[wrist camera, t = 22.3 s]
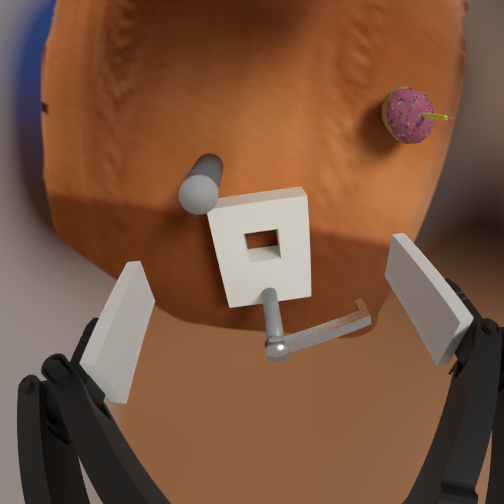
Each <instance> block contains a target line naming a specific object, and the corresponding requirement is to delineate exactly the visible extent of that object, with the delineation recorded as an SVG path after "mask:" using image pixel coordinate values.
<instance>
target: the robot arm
mask: <svg viewBox="0 0 504 504" xmlns="http://www.w3.org/2000/svg"><path fill="white" fill-rule="evenodd" d="M385 278H386V279H387V281H388V283H389V284H390V286H391V287H392V289H393V290H394V292H395V294H396V295H397V297H398V299H399V300H400V302H401V304H402V305H403V307H404V309H405V310H406V312H407V314H408V315H409V317H410V319H411V321H412V322H413V324H414V326H415V328H416V329H417V331H418V333H419V335H420V337H421V338H422V340H423V342H424V344H425V346H426V348H427V350H428V351H429V353H430V355H431V357H432V359H433V361H434V363H435V365H436V367H437V366H440V365H443V364H446V363H448V362H450V360H451V358H452V356H453V355H454V354H455V355H456V357H457V358H458V359H457V361H456V362H455V364H454V365H453V367H452V369H451V370H450V372H449V374H450V375H451V373H452V372H453V375H452V379H451V384H450V388H449V391H448V395H447V399H446V402H445V406H444V409H443V412H442V416H441V419H440V422H439V425H438V428H437V430H436V433H435V436H434V439H433V441H432V444H431V447H430V449H429V452H428V454H427V457H426V459H425V461H424V464H423V466H422V468H421V470H420V473H419V475H418V477H417V479H416V481H415V483H414V485H413V487H412V489H411V491H410V493H409V495H408V497H407V498H406V500H405V501H404V502H403V503H402V504H477V503H478V495H477V494H476V492H475V486H476V484H477V480H478V478H479V475H480V472H481V468H482V465H483V462H484V458H485V455H486V451H487V447H488V443H489V439H490V435H491V430H492V449H491V464H490V474H489V482H488V489H487V496H486V502H485V504H504V327H499V325H498V324H497V323H496V322H495V321H493V320H491V319H487V318H484V319H483V318H482V317H481V315H480V314H479V313H478V311H477V310H476V309H475V307H474V306H473V304H472V303H471V302H470V301H469V299H467V297H466V295H465V294H464V293H462V290H461V289H460V288H459V287H458V286H457V284H455V283H454V282H452V281H451V280H450V279H444V278H443V277H442V276H441V275H440V273H439V272H438V271H437V270H436V269H435V267H434V266H433V265H432V264H431V263H430V262H429V260H428V259H427V258H426V257H425V256H424V255H423V253H421V251H420V250H419V249H418V248H417V247H416V246H415V245H414V243H413V242H412V241H411V240H410V239H409V238H408V237H407V236H406V235H405V234H404V233H399V234H392V238H391V244H390V250H389V255H388V261H387V266H386V271H385ZM154 303H155V300H154V297H153V294H152V292H151V289H150V287H149V284H148V281H147V279H146V276H145V273H144V270H143V267H142V265H141V262H140V261H133V262H127V264H126V266H125V267H124V269H123V271H122V273H121V275H120V277H119V279H118V281H117V283H116V285H115V287H114V289H113V290H112V292H111V294H110V296H109V299H108V301H107V303H106V305H105V307H104V309H103V311H102V313H101V315H100V317H99V318H93V319H92V320H91V321H90V322H89V324H88V325H87V326H86V328H85V330H84V332H83V336H81V338H80V341H79V343H78V345H77V347H76V350H75V352H74V354H73V356H72V359H71V361H70V362H69V361H68V360H67V358H66V357H65V356H64V355H63V354H54V355H51V356H50V357H48V358H47V359H46V360H45V362H44V363H43V365H42V369H41V373H42V375H43V376H44V377H45V378H46V379H47V380H46V381H40V380H39V379H38V378H37V376H35V375H28V376H26V377H25V378H24V379H23V380H22V381H21V382H20V384H19V388H18V401H17V435H18V437H17V438H18V455H19V466H20V475H21V482H22V489H23V494H24V500H25V504H90V502H89V498H88V495H87V492H86V488H85V484H84V480H83V476H82V472H81V468H80V463H79V459H80V461H81V463H82V465H83V467H84V469H85V471H86V473H87V475H88V477H89V479H90V481H91V482H92V485H93V487H94V488H95V490H96V492H97V494H98V496H99V497H100V499H101V501H102V502H103V504H171V503H170V502H169V501H168V499H167V498H166V497H165V496H164V494H163V493H162V492H161V491H160V489H159V488H158V487H157V485H156V484H155V483H154V482H153V480H152V479H151V477H150V476H149V475H148V473H147V472H146V470H145V469H144V467H143V466H142V465H141V463H140V462H139V460H138V458H137V457H136V455H135V454H134V452H133V451H132V449H131V448H130V446H129V444H128V443H127V441H126V440H125V438H124V436H123V434H122V433H121V431H120V430H119V428H118V426H117V424H116V422H115V420H114V419H113V417H112V415H111V413H110V411H109V409H108V407H107V406H106V404H105V403H104V402H103V401H104V397H105V395H106V396H107V397H108V399H109V400H110V401H111V402H118V403H127V399H128V395H129V391H130V387H131V383H132V379H133V375H134V371H135V368H136V364H137V360H138V356H139V353H140V350H141V346H142V343H143V339H144V336H145V332H146V329H147V325H148V322H149V319H150V316H151V313H152V310H153V306H154ZM78 456H79V458H78Z"/></svg>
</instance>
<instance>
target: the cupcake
mask: <svg viewBox="0 0 504 504" xmlns="http://www.w3.org/2000/svg"><path fill="white" fill-rule="evenodd" d="M428 99H429V98H428V97H426V95H424V93H423V92H421V91H417V90H415V89H412V88H409V87H399V88H396V89H395V90H392V91H390V92H389V93H388V95H387V96H386V98H385V99H384V101H383V103H382V120H383V123H384V125H385V126H386V128H387V130H388V131H389V132H390V133H391V134H392V136H393V137H394V138H395V139H396V140H397V141H399V142H401V143H404V144H415V143H418V142H420V143H421V141H422V140H423V139H425V138H426V137H427V136H428V134H429V133H430V132H431V131H430V130H431V128H432V126H433V121H434V119H440V120H447V119H452V118H451V117H447V116H446V115H439V114H433V108H432V106H431V104H430V102H429V100H428Z"/></svg>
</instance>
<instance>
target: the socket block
mask: <svg viewBox="0 0 504 504" xmlns="http://www.w3.org/2000/svg"><path fill="white" fill-rule="evenodd" d="M207 215H208V220H209V224H210V229H211V233H212V237H213V242H214V246H215V250H216V254H217V259H218V263H219V267H220V271H221V275H222V279H223V284H224V288H225V292H226V296H227V300H228V304H229V308H231V307H239V306H247V305H254V304H262V303H263V307H264V316H265V325H266V334H267V339H269V338H271V337H273V336H282V337H284V333H283V327H282V321H281V315H280V309H279V304H278V301H283V300H290V299H296V298H303V297H309V296H311V267H310V239H309V218H308V201H307V195H306V193H305V192H304V190H303V188H302V187H295V188H287V189H279V190H271V191H264V192H257V193H250V194H243V195H236V196H230V197H223V198H218V201H217V204H216V206H215V207H214V208H213V209H212V210H211V211H210V212H208V213H207ZM274 229H276V231H277V240H278V245H276V246H268V247H261V248H254V249H248V248H247V242H246V236H245V234H246V233H253V232H260V231H267V230H274Z"/></svg>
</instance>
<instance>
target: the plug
mask: <svg viewBox="0 0 504 504" xmlns="http://www.w3.org/2000/svg"><path fill="white" fill-rule="evenodd" d="M222 171H223V163H222V161H221V159H220V158H219V157H218V156H216V155H214V154H205V155H203V156H201V157H200V158H199V159H198V160H197V162H196V164H195V165H194V167H193V169H192V170H191V172H190V174H189V175H188V177H187V178H186V179H185V181H184V182H183V184H182V185H181V187H180V189H179V194H178V196H179V201H180V204H181V205H182V207H183V208H184V209H185V210H186V211H188V212H190V213H192V214H196V215H201V214H206V213H208V212H210V211H211V210H212V209H213V208H214V207H215V206H216V204H217V201H218V196H219V186H220V181H221V176H222Z"/></svg>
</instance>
